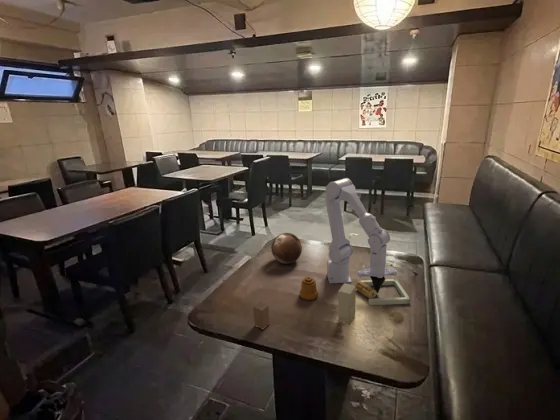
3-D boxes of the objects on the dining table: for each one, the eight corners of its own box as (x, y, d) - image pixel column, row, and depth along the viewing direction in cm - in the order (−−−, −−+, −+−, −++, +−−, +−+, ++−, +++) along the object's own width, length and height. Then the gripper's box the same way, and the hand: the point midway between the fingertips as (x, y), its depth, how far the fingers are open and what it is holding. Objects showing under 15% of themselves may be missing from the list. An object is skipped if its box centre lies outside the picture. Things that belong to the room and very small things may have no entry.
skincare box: (349, 325, 104) (350, 294, 101) (337, 321, 106) (337, 291, 103) (355, 315, 109) (356, 285, 106) (343, 311, 112) (344, 282, 108)
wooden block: (261, 320, 109) (260, 301, 107) (270, 324, 107) (268, 305, 104) (254, 326, 106) (252, 306, 104) (262, 330, 104) (261, 311, 101)
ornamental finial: (321, 298, 120) (303, 302, 118) (314, 289, 127) (297, 292, 125) (321, 281, 117) (302, 284, 116) (313, 272, 124) (296, 275, 122)
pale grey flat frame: (369, 305, 114) (369, 300, 114) (359, 284, 128) (359, 280, 127) (409, 303, 114) (410, 298, 113) (395, 283, 128) (396, 279, 127)
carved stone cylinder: (355, 290, 124) (355, 281, 123) (363, 287, 126) (363, 278, 125) (368, 300, 117) (368, 291, 116) (377, 297, 119) (377, 288, 117)
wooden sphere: (266, 264, 149) (264, 236, 145) (283, 252, 161) (282, 226, 156) (291, 272, 141) (290, 242, 136) (307, 259, 153) (307, 231, 148)
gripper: (361, 266, 113) (360, 298, 117) (400, 265, 113) (398, 296, 117) (357, 258, 120) (356, 288, 124) (393, 256, 119) (391, 286, 124)
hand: (376, 291), depth 121 cm, fingers closed
